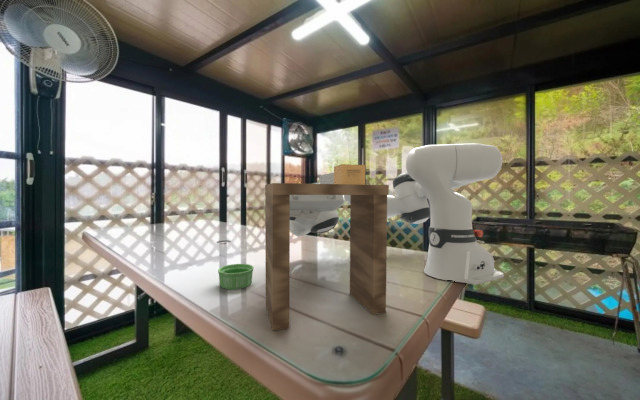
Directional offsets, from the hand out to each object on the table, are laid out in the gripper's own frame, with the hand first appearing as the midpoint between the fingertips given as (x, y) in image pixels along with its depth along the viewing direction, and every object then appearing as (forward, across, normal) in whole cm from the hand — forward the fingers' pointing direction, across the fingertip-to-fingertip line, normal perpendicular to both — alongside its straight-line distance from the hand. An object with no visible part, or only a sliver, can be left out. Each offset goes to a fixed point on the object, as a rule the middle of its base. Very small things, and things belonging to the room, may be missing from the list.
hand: (318, 187), depth 73 cm
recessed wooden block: (+12, 0, -7) cm, 13 cm away
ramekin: (-15, +22, -22) cm, 35 cm away
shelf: (+4, +5, -32) cm, 33 cm away
